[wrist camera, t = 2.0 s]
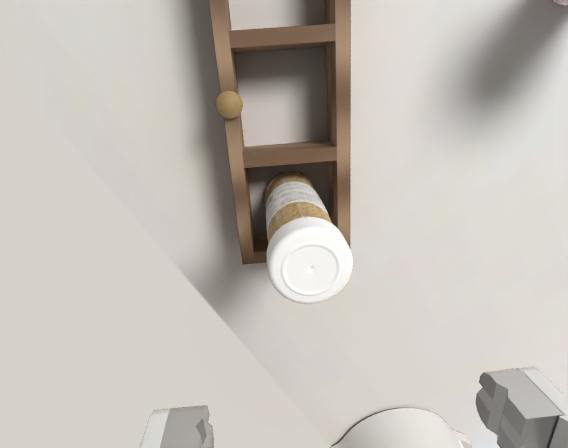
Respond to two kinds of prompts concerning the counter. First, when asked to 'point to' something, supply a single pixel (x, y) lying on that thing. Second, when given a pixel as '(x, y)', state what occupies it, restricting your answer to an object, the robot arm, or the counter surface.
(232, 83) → the spice caddy
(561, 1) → the smoothie
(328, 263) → the sprinkles bottle
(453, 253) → the counter surface
